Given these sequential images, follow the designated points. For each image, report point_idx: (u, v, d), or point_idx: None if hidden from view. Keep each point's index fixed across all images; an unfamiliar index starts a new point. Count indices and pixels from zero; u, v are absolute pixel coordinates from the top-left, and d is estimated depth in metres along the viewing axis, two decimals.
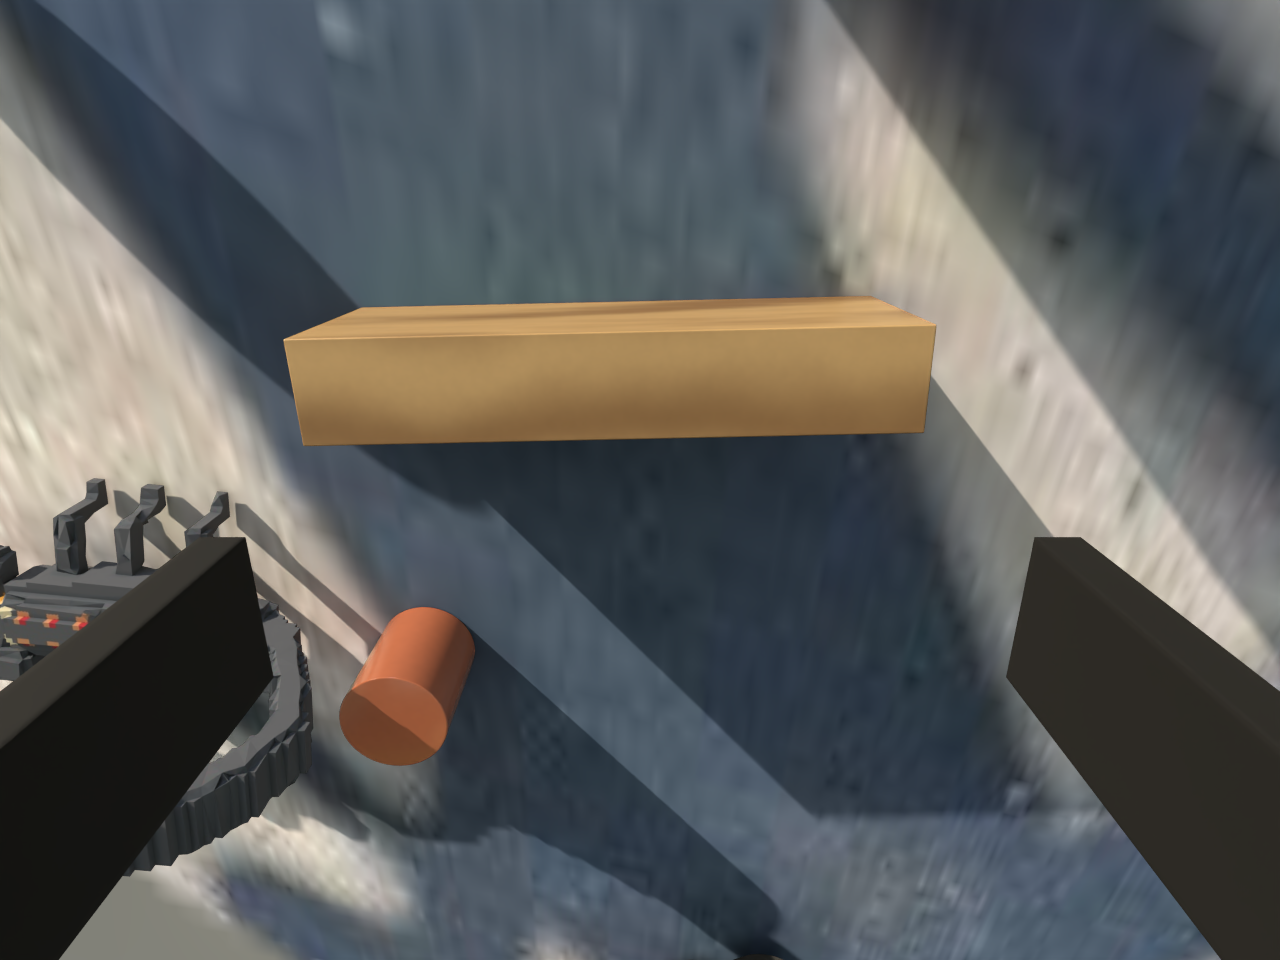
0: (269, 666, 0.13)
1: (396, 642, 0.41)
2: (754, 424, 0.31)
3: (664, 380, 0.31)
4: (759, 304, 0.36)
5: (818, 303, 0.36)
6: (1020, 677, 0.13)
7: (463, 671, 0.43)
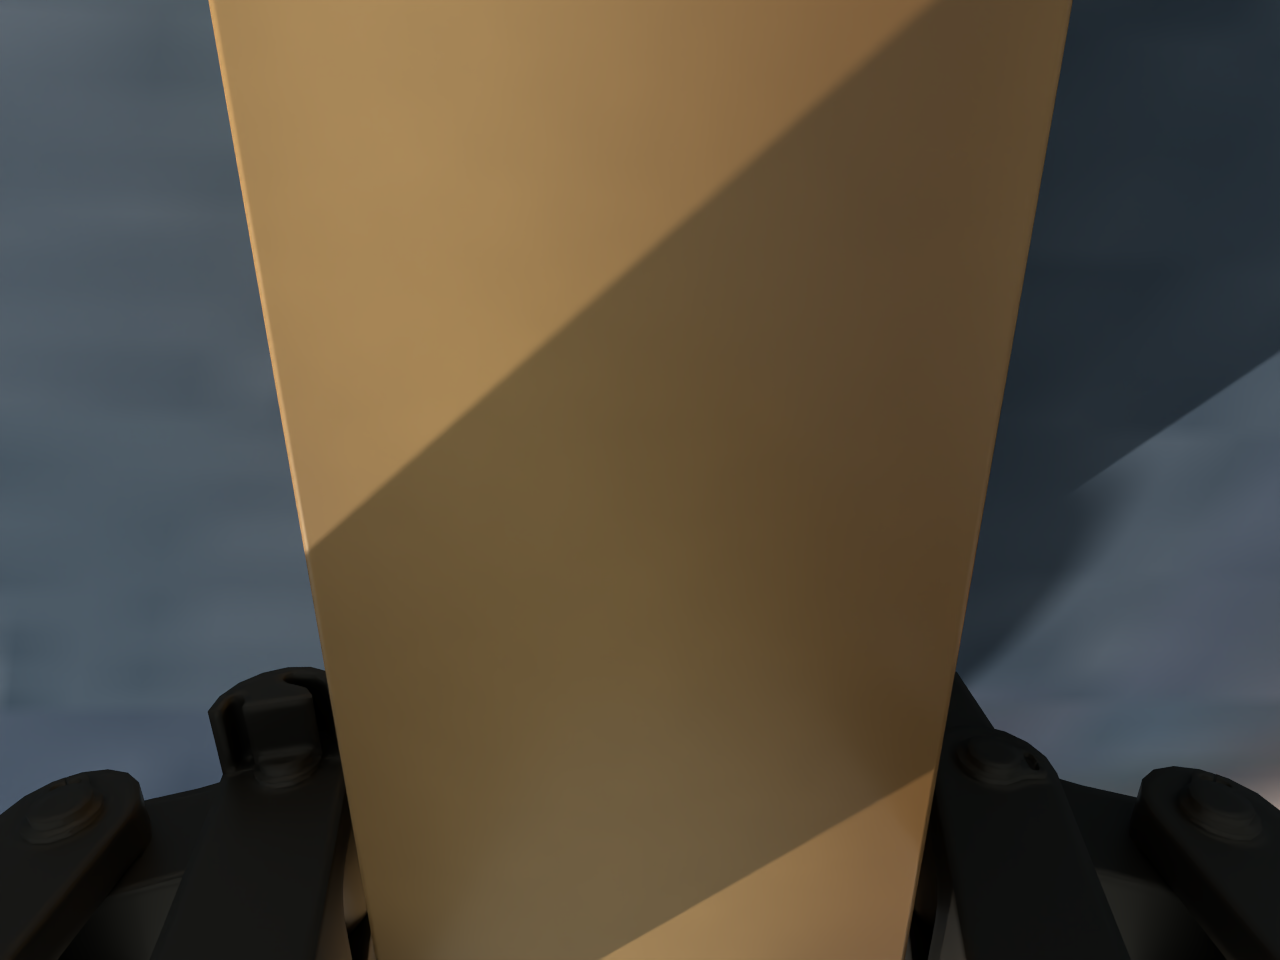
0: None
1: None
2: None
3: None
4: None
5: None
6: None
7: None
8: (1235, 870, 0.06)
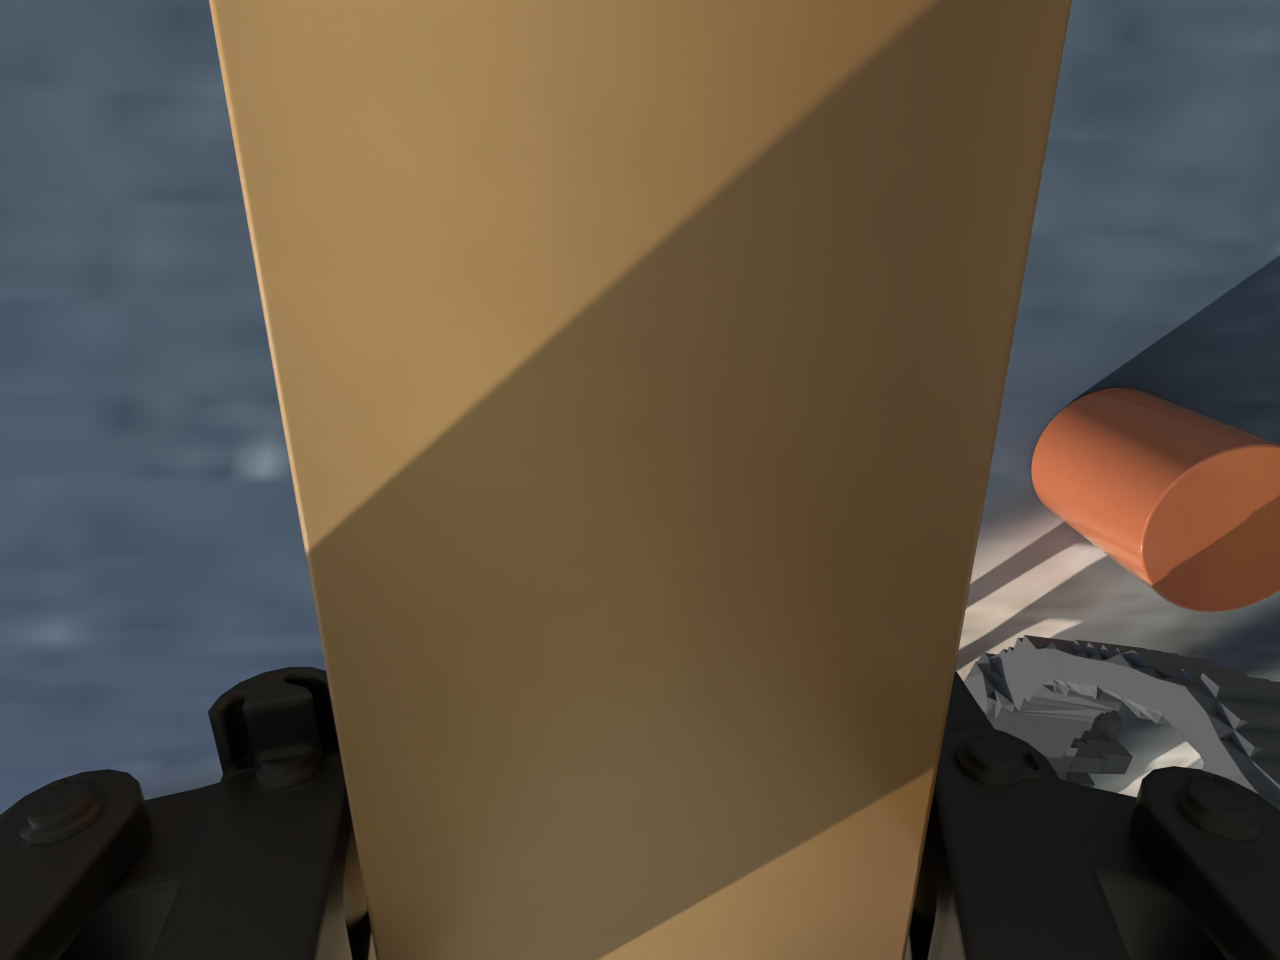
0: None
1: (1083, 504, 0.26)
2: None
3: None
4: None
5: None
6: None
7: (1164, 408, 0.26)
8: (1235, 869, 0.06)
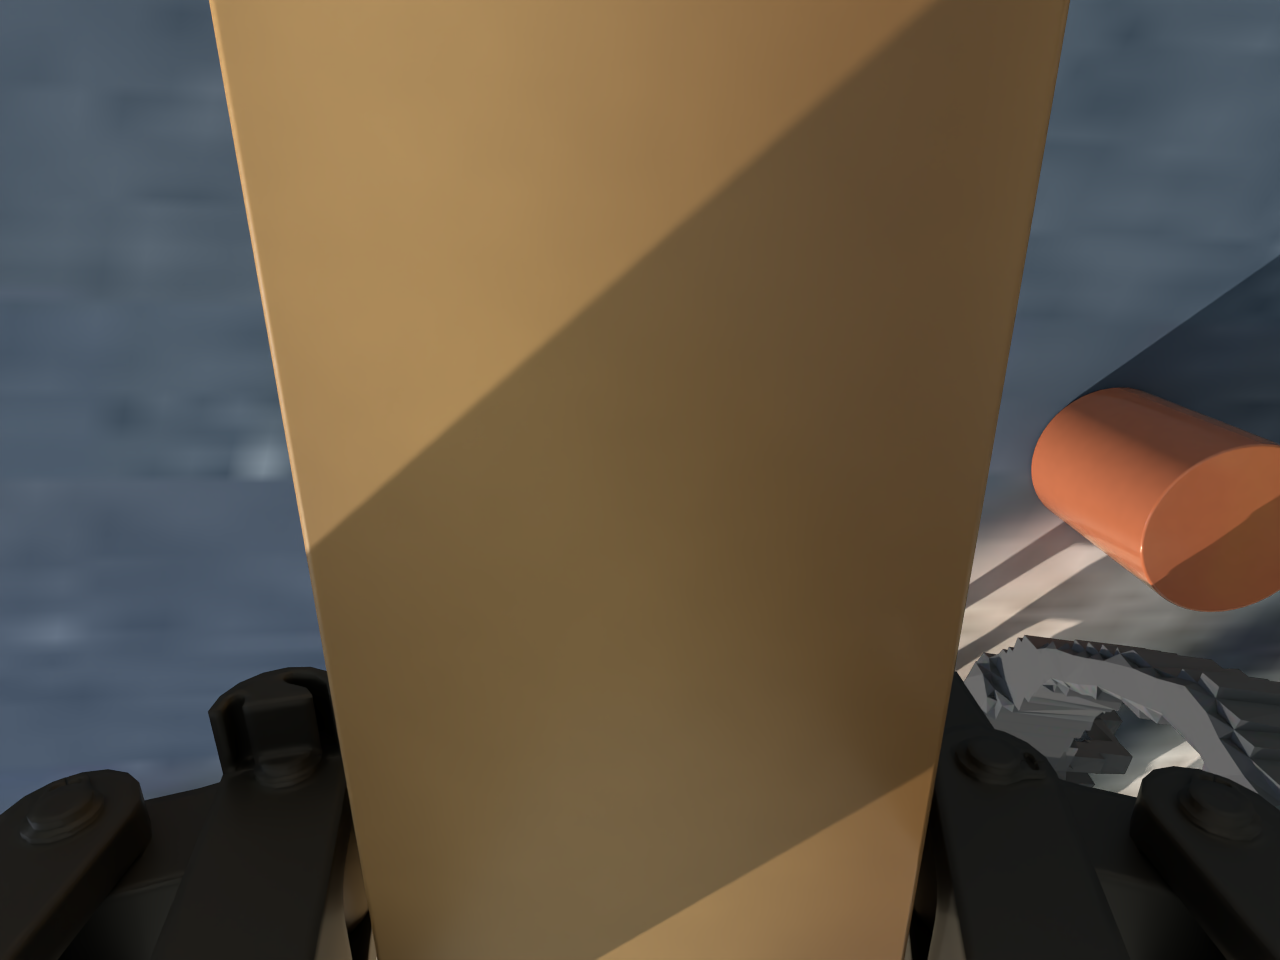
0: None
1: (1083, 504, 0.26)
2: None
3: None
4: None
5: None
6: None
7: (1164, 408, 0.26)
8: (1235, 870, 0.06)
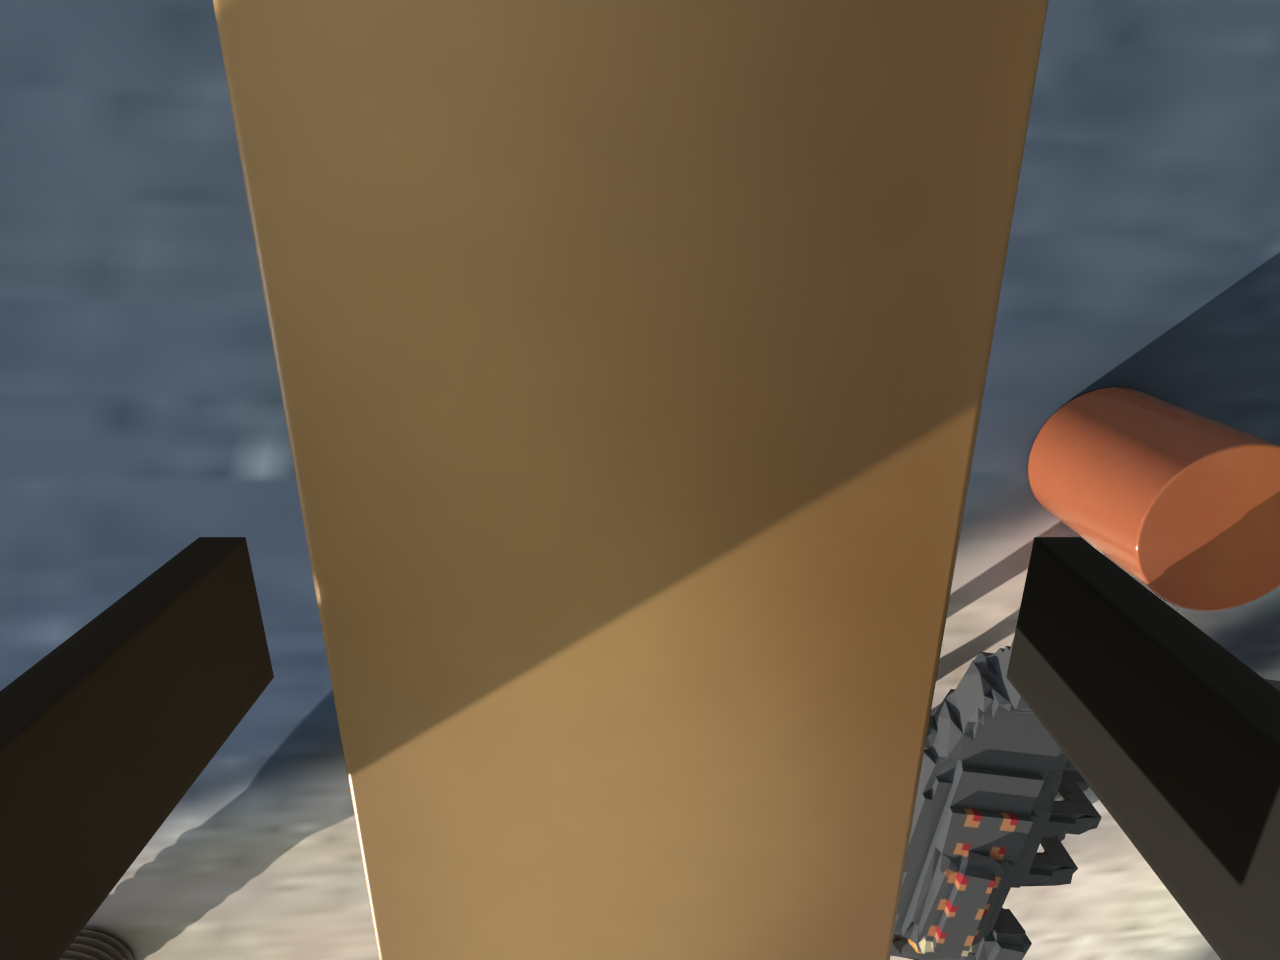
0: (269, 666, 0.13)
1: (1079, 504, 0.26)
2: None
3: None
4: None
5: None
6: (1020, 677, 0.13)
7: (1159, 408, 0.26)
8: None
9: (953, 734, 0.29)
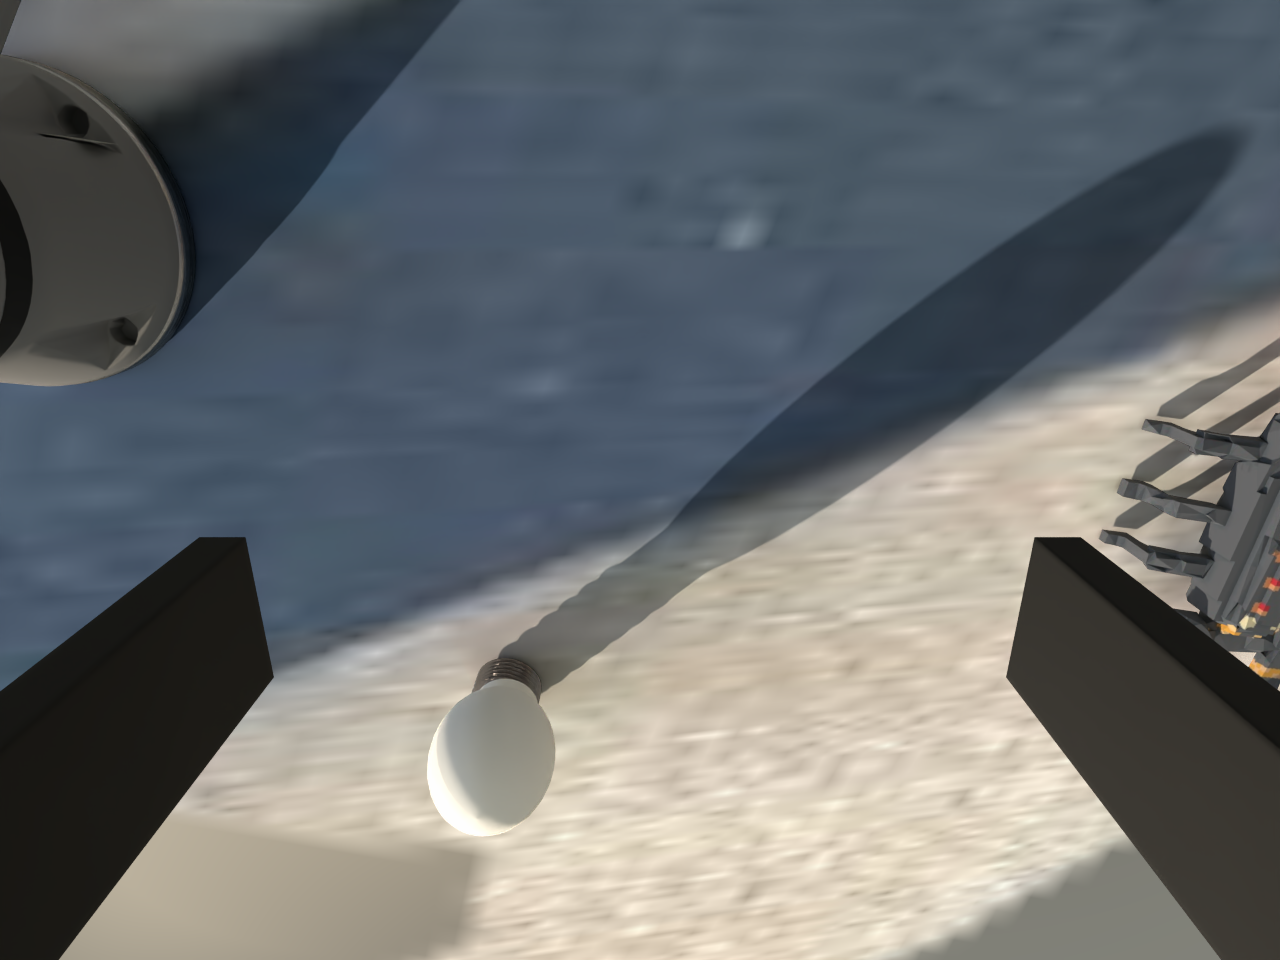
0: (269, 666, 0.13)
1: None
2: None
3: None
4: None
5: None
6: (1020, 677, 0.13)
7: None
8: None
9: None
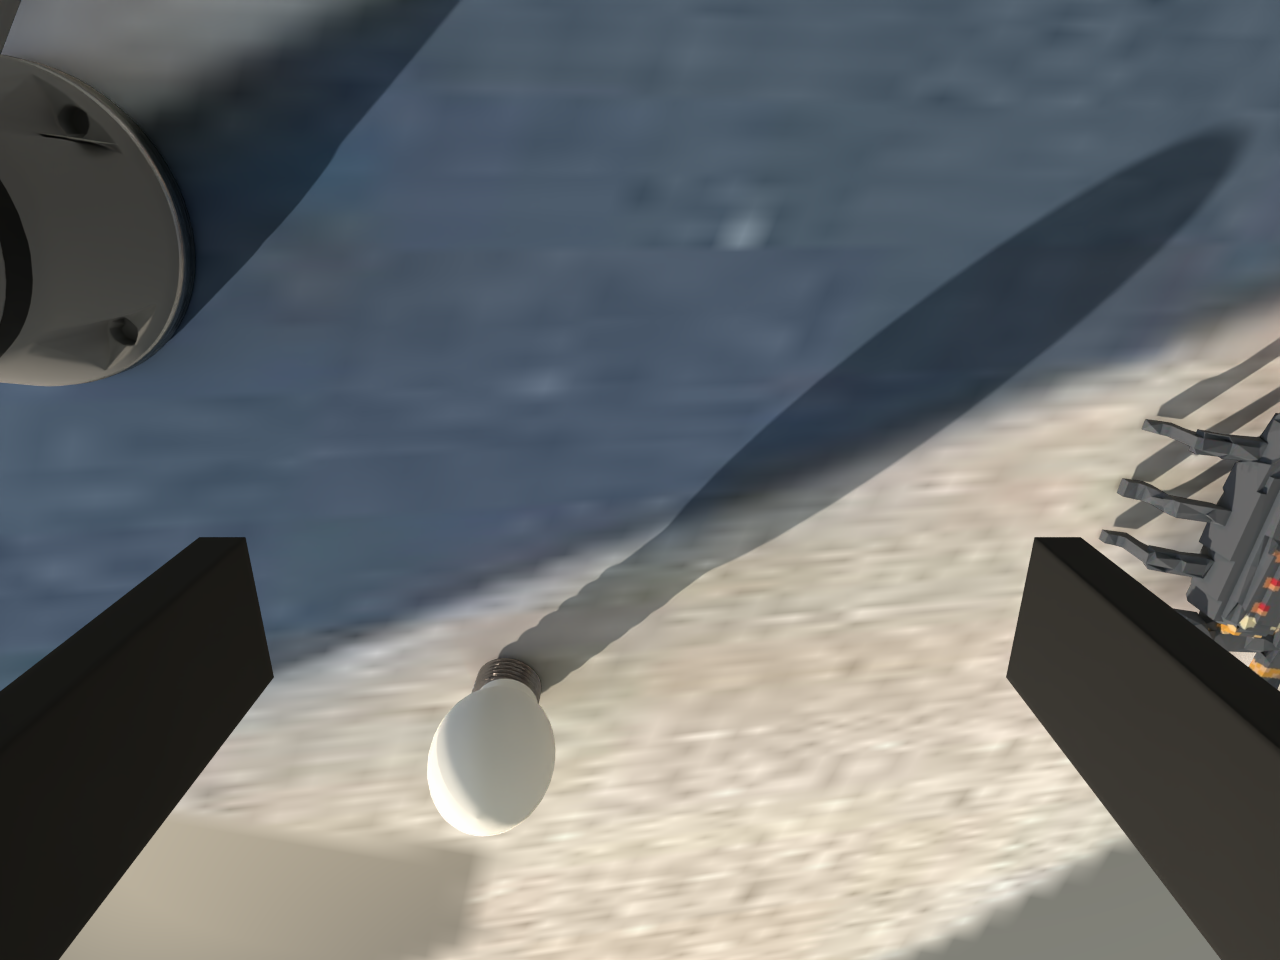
0: (269, 666, 0.13)
1: None
2: None
3: None
4: None
5: None
6: (1020, 677, 0.13)
7: None
8: None
9: None
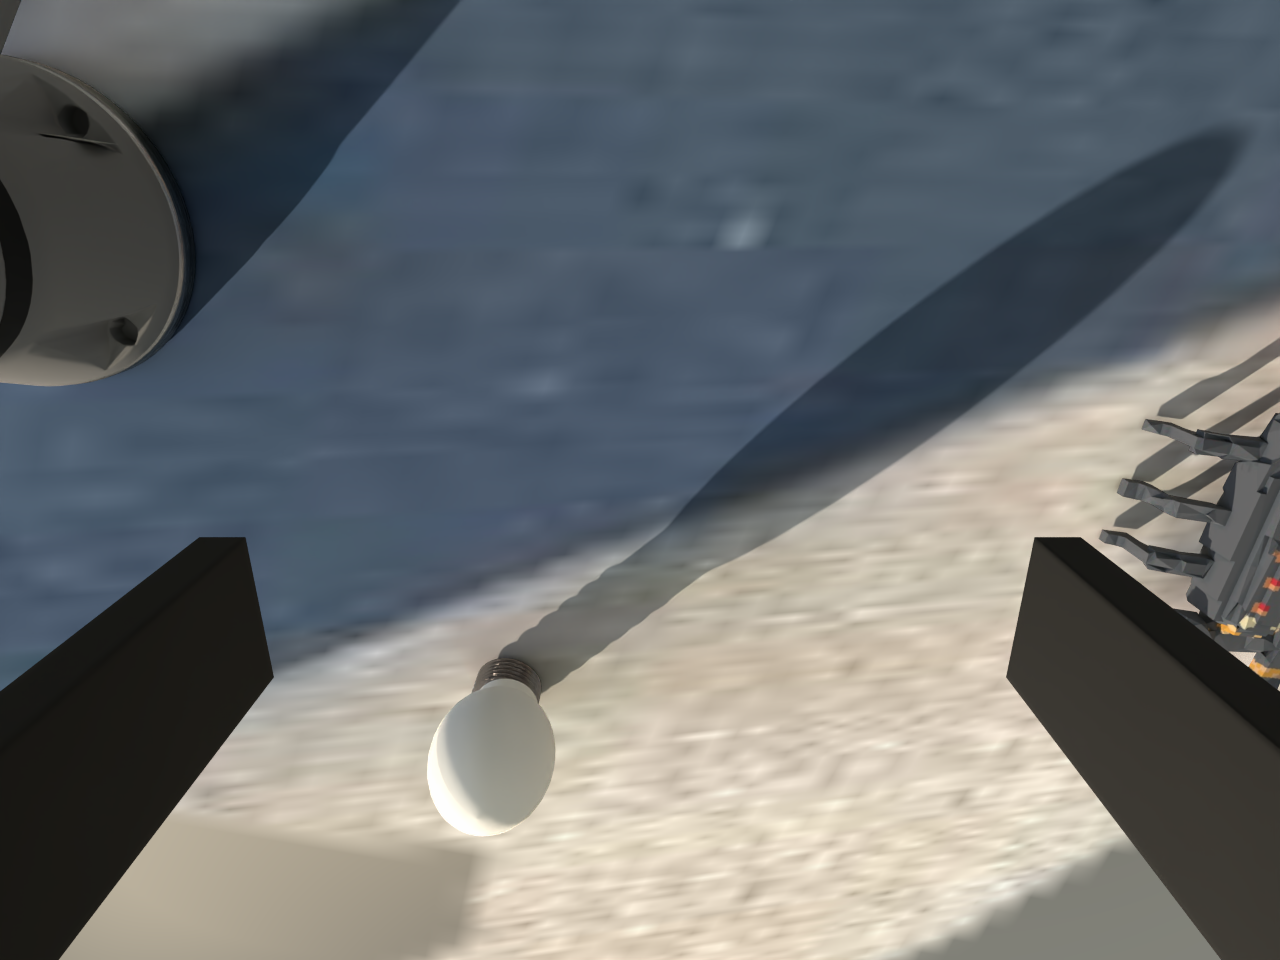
0: (269, 666, 0.13)
1: None
2: None
3: None
4: None
5: None
6: (1020, 677, 0.13)
7: None
8: None
9: None
